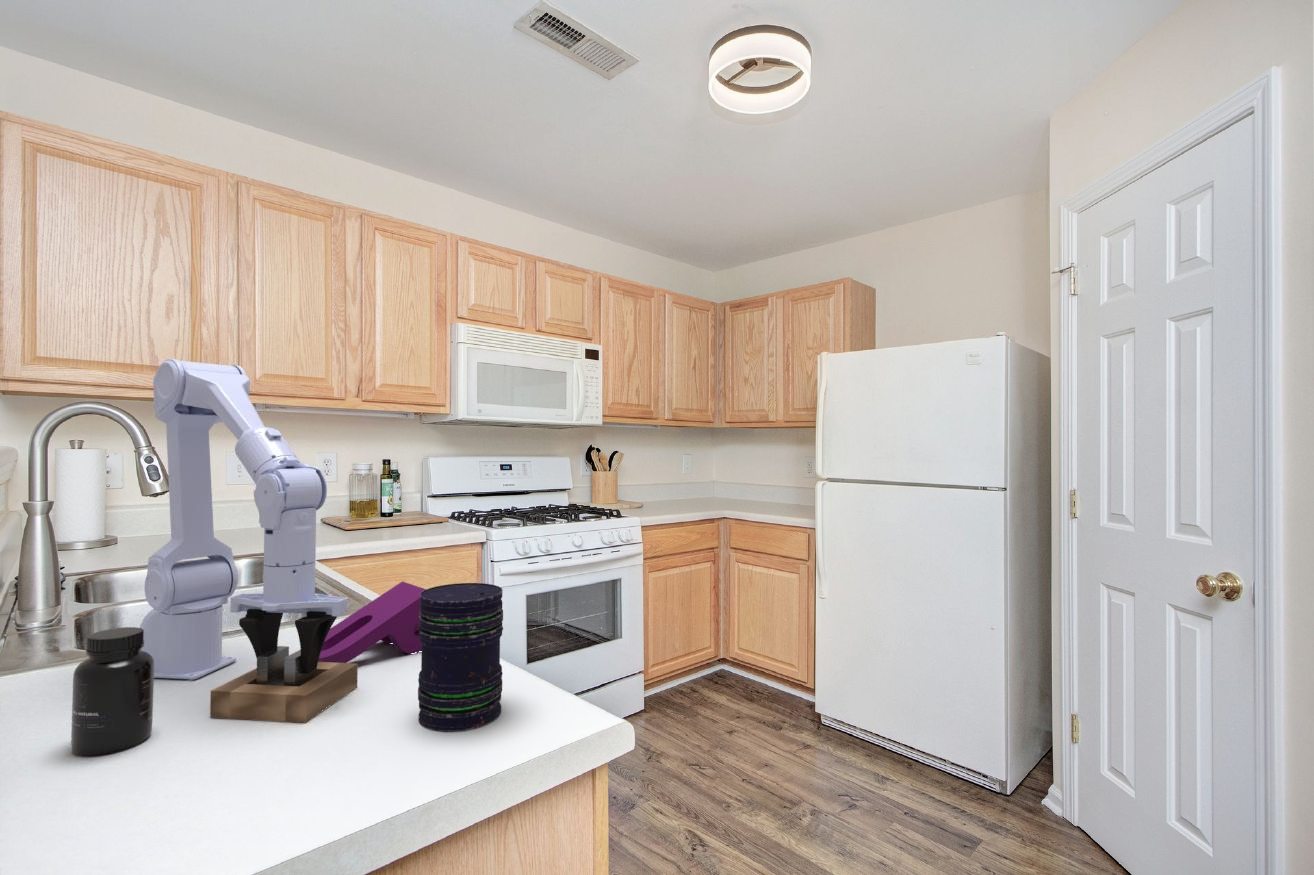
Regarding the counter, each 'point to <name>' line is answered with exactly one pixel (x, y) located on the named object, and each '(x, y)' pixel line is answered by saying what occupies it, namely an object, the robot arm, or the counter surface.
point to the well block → (283, 695)
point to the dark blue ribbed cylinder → (460, 656)
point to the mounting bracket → (377, 626)
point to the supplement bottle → (112, 693)
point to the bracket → (281, 668)
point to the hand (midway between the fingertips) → (288, 670)
